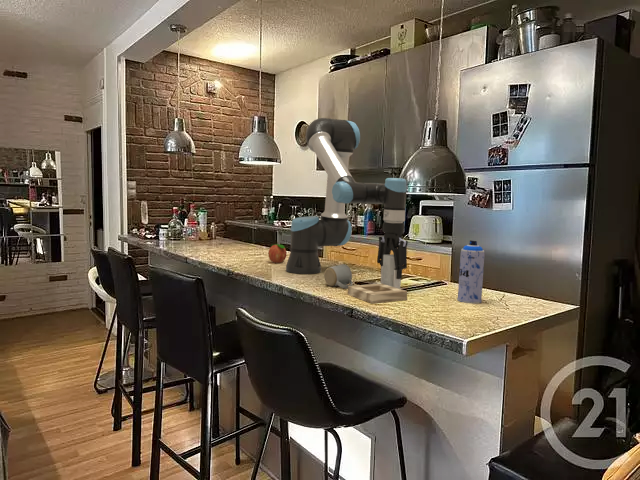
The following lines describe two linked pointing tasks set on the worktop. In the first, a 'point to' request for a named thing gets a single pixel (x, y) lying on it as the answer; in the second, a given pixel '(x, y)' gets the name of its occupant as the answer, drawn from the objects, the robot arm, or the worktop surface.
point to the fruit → (277, 253)
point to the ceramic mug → (338, 276)
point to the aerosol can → (471, 273)
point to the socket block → (377, 293)
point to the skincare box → (388, 270)
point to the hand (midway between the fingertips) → (390, 285)
